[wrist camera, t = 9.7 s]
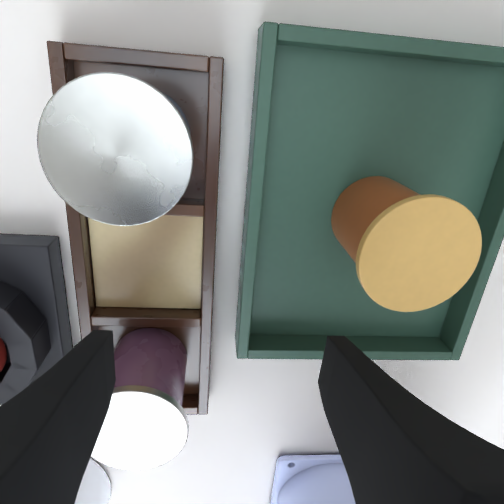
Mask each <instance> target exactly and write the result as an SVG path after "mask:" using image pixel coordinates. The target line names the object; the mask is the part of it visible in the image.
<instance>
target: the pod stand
mask: <svg viewBox="0 0 504 504" xmlns="http://www.w3.org/2000/svg"><path fill="white" fill-rule="evenodd" d="M47 49H48V57H49V66H50V74H51V83H52V92H53V95H54V94H55V93H56V92H57V91H58V90H59V89H60V88H61V87H62V86H64V85H65V84H67V83H68V82H70V81H71V80H74V79H76V78H78V77H80V76H83V75H87V74H91V73H98V72H114V73H121V74H126V75H130V76H133V77H136V78H139V79H141V80H143V81H145V82H147V83H149V84H151V85H152V86H154V87H156V88H157V89H158V90H159V91H162V92H163V93H165V94H167V95H168V96H169V97H171V98H172V99H173V100H174V101H175V102H176V103H177V104H178V105H179V107H180V108H181V109H182V111H183V113H184V114H185V116H186V119H187V121H188V124H189V128H190V135H191V139H192V144H193V152H194V162H193V170H192V175H191V179H190V182H189V184H188V187H187V189H186V191H185V193H184V195H183V196H182V198H181V199H180V200H179V202H178V203H177V204H176V205H175V206H174V207H173V208H172V209H171V210H170V211H168V212H167V213H166V214H165V215H163V216H161V217H159V218H158V219H156V220H153V221H151V222H148V223H144V224H141V225H134V226H115V225H109V224H105V223H101V222H98V221H95V220H92V219H90V218H88V217H86V216H84V215H82V214H81V213H79V212H78V211H76V210H75V209H73V208H72V207H71V206H70V205H68V204H67V203H66V202H65V203H66V212H67V221H68V229H69V238H70V246H71V255H72V264H73V272H74V281H75V289H76V298H77V306H78V315H79V324H80V332H81V340H82V339H83V338H85V337H86V336H87V335H88V334H89V333H90V332H91V331H93V330H113V344H114V350H115V348H116V346H117V344H118V342H119V341H120V340H121V339H122V338H123V337H124V336H125V335H126V334H128V333H130V332H132V331H134V330H137V329H141V328H158V329H162V330H165V331H168V332H170V333H172V334H173V335H175V336H176V337H177V338H178V339H179V340H180V341H181V342H182V344H183V345H184V347H185V349H186V353H187V365H186V375H185V384H184V394H183V403H182V408H183V409H184V411H185V413H186V415H197V414H208V398H209V376H210V354H211V332H212V310H213V288H214V266H215V244H216V222H217V200H218V178H219V156H220V134H221V112H222V90H223V68H224V58H222V57H213V56H211V57H208V56H203V55H192V54H181V53H171V52H160V51H150V50H139V49H129V48H118V47H108V46H97V45H87V44H76V43H66V42H65V43H63V42H55V41H47Z"/></svg>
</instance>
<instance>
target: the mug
mask: <svg viewBox="0 0 504 504" xmlns="http://www.w3.org/2000/svg"><path fill="white" fill-rule="evenodd" d="M110 496H111V484H110V480H109V478H108V476H107V474H106V472H105V471H104V470H103V468H102V467H101V466H100V465H99V464H98V463H97V462H95V461H94V460H93V459H91V458H90V460H89V462H88V465H87V468H86V470H85V473H84V475H83V478H82V481H81V484H80V487H79V490H78V493H77V497H76V500H75V504H108V503H109V500H110Z"/></svg>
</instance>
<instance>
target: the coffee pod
mask: <svg viewBox="0 0 504 504" xmlns="http://www.w3.org/2000/svg"><path fill="white" fill-rule="evenodd" d="M331 225H332V230H333V233H334V235H335V237H336V238H337V240H338V241H339V243H340V244H341V245H342V246H343V248H344V249H345V250H346V252H347V253H348V254H349V255H350V257H351V258H352V259H353V260H354V262H355V263H356V271H357V276H358V279H359V282H360V284H361V286H362V287H363V289H364V290H365V292H366V293H367V294H368V296H369V297H370V298H371V299H372V300H373V301H375V302H376V303H377V304H379V305H381V306H383V307H385V308H388V309H390V310H394V311H400V312H414V311H421V310H424V309H428V308H431V307H434V306H436V305H438V304H440V303H442V302H444V301H445V300H447V299H449V298H450V297H451V296H453V295H454V294H455V293H457V292H458V291H459V290H460V289H461V288H462V287H463V286H464V284H465V283H466V282H467V281H468V280H469V278H470V277H471V275H472V274H473V272H474V270H475V268H476V266H477V264H478V261H479V258H480V254H481V248H482V236H481V230H480V227H479V224H478V222H477V220H476V218H475V217H474V215H473V214H472V213H471V211H470V210H468V209H467V208H466V207H465V206H464V205H462V204H461V203H459V202H457V201H455V200H453V199H450V198H448V197H445V196H441V195H434V194H424V195H420V194H418V193H417V192H415V191H413V190H411V189H409V188H407V187H405V186H404V185H402V184H400V183H398V182H396V181H394V180H392V179H390V178H387V177H382V176H371V177H366V178H363V179H360V180H358V181H356V182H354V183H352V184H351V185H350V186H348V187H347V188H346V189H345V190H344V191H343V192H342V193H341V194H340V196H339V197H338V199H337V201H336V203H335V205H334V207H333V211H332V216H331Z"/></svg>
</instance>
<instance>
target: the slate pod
mask: <svg viewBox="0 0 504 504" xmlns="http://www.w3.org/2000/svg"><path fill="white" fill-rule="evenodd" d="M37 145H38V153H39V158H40V162H41V165H42V168H43V171H44V173H45V175H46V177H47V179H48V181H49V182H50V184H51V185H52V187H53V189H54V190H55V191H56V192H57V193H58V195H59V196H60V197H61V198H62V199H63V200H64V201H65V202H66V203H67V204H68V205H70V206H71V207H72V208H73V209H75V210H76V211H78V212H79V213H81V214H82V215H84V216H86V217H88V218H90V219H92V220H95V221H98V222H101V223H105V224H109V225H115V226H134V225H141V224H144V223H148V222H151V221H153V220H156V219H158V218H159V217H161V216H163V215H165V214H166V213H167V212H168V211H170V210H171V209H172V208H173V207H174V206H175V205H176V204H177V203H178V202H179V200H180V199H181V198H182V196H183V195H184V193H185V191H186V189H187V187H188V184H189V182H190V179H191V175H192V170H193V162H194V152H193V144H192V139H191V135H190V128H189V124H188V121H187V119H186V116H185V114H184V113H183V111H182V109H181V108H180V107H179V105H178V104H177V103H176V102H175V101H174V100H173V99H172V98H171V97H169V96H168V95H167V94H165V93H163V92H162V91H159V90H158V89H157V88H156V87H154V86H152V85H151V84H149V83H147V82H145V81H143V80H141V79H139V78H136V77H133V76H130V75H126V74H121V73H114V72H98V73H91V74H87V75H83V76H80V77H78V78H76V79H74V80H71V81H70V82H68V83H67V84H65V85H64V86H62V87H61V88H60V89H59V90H58V91H57V92H56V93H55V94H54V95H53V96H52V97H51V99H50V100H49V101H48V103H47V105H46V107H45V108H44V110H43V113H42V115H41V118H40V122H39V126H38V134H37Z"/></svg>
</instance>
